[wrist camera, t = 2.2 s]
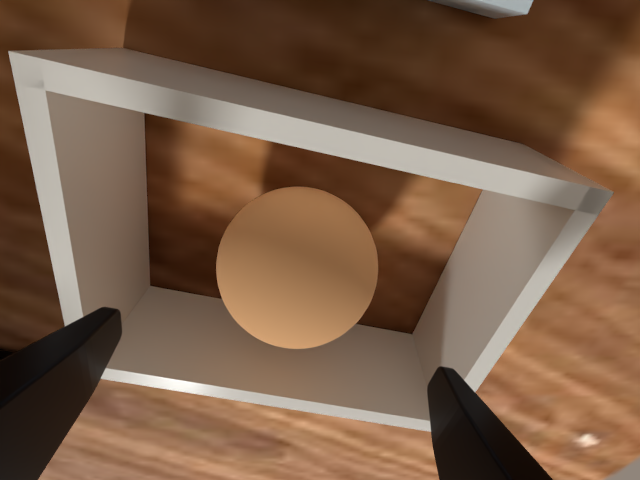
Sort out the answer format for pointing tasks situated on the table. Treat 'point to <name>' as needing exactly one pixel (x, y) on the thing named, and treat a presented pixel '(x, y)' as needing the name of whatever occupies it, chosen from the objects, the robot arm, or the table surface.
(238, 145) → the table surface
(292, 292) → the ball
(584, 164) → the table surface
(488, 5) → the tray
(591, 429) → the table surface
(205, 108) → the grey rectangular frame
